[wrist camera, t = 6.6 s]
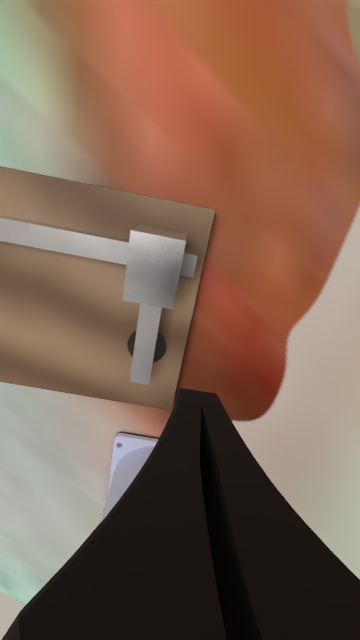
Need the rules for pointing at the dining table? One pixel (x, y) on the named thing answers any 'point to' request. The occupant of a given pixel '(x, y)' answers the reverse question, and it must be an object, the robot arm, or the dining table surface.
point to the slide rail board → (88, 293)
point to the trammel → (141, 271)
